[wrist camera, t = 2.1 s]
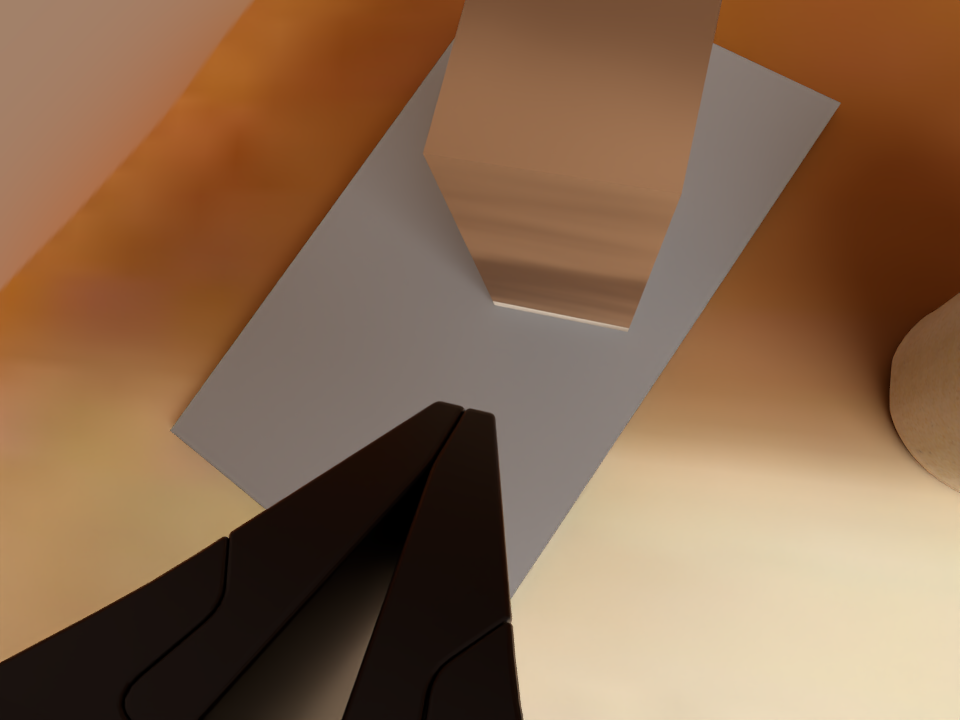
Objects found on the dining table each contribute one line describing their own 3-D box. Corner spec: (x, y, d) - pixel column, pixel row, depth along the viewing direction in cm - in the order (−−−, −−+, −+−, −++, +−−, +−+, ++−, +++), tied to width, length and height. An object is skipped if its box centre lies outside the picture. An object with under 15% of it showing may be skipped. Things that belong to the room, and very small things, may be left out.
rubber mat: (465, 666, 19) (462, 670, 18) (177, 431, 22) (170, 430, 21) (835, 110, 20) (840, 103, 20) (518, -41, 23) (517, -49, 23)
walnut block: (627, 331, 20) (681, 193, 10) (494, 305, 20) (422, 153, 11) (655, 204, 20) (731, -45, 10) (525, 183, 21) (483, -64, 11)
